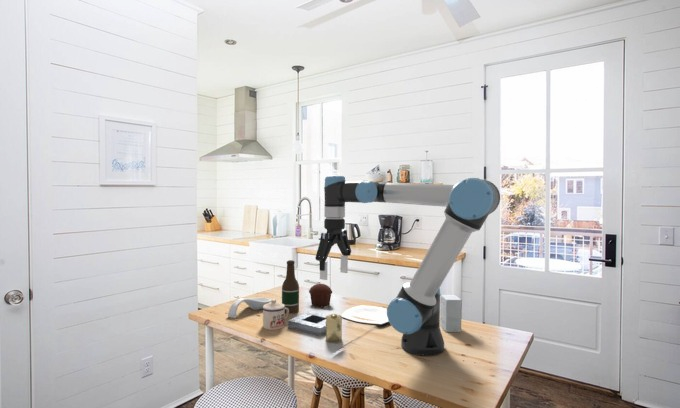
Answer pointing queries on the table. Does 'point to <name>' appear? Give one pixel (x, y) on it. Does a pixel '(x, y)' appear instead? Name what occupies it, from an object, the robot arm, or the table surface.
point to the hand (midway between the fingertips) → (334, 276)
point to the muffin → (320, 295)
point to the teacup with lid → (274, 315)
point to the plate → (367, 314)
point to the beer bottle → (290, 289)
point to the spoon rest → (251, 302)
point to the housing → (309, 323)
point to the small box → (450, 313)
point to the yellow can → (333, 328)
